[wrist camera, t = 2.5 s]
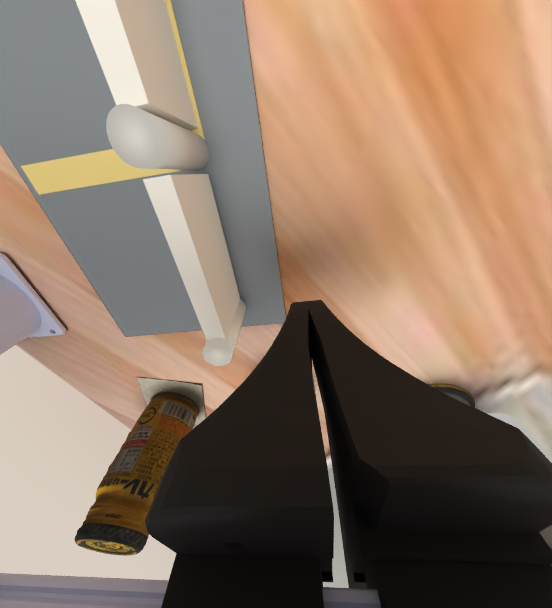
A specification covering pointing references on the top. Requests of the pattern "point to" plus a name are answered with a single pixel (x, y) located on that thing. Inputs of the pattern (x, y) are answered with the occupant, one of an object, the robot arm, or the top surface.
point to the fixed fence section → (144, 84)
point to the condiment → (140, 468)
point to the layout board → (127, 179)
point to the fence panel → (200, 258)
